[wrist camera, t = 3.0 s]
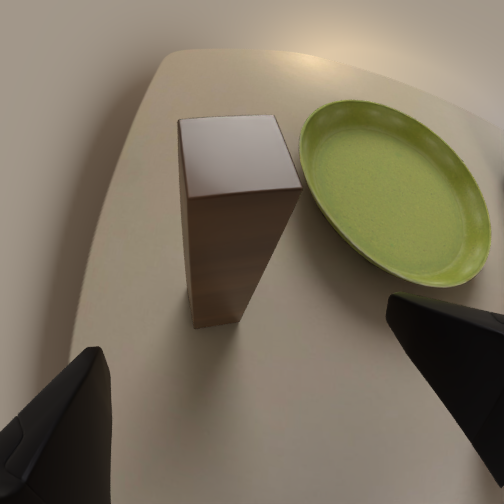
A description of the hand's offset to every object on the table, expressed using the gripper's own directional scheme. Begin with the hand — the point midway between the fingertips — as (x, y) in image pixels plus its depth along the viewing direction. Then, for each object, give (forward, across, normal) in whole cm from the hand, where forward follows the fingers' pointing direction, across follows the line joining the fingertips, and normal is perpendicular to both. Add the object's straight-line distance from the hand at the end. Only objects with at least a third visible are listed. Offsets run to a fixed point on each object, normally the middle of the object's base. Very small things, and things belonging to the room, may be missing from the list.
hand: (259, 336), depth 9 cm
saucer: (+16, -18, 0) cm, 24 cm away
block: (+11, 0, +5) cm, 12 cm away
